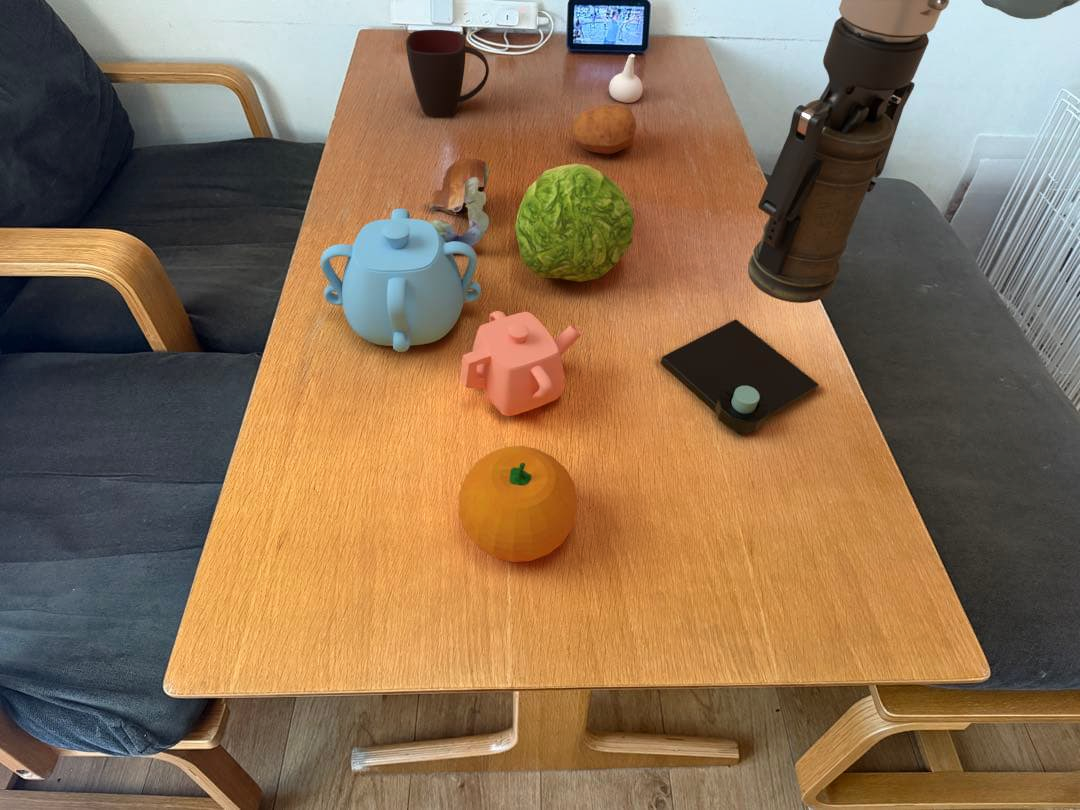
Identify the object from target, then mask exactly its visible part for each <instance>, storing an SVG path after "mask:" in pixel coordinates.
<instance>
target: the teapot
mask: <svg viewBox="0 0 1080 810" xmlns="http://www.w3.org/2000/svg"><path fill="white" fill-rule="evenodd" d="M488 318H489V320H488V321H489V322H486V323H483V324H481V325H479V327H478V329H477V332H476V335H475V338H474V342H473V346H472V351H470V352H467V353H465V354H462V357H461V358H462V359H461V368H460V375H459V376H460V377H459V378H460V382H461V383H462V384H463V386H464V387H465V388H466V389H475V390H482V391H483V392H484V394H485V395H486V397H487V398H488V399H489V401H490V402H491V403H492V404H493V406H495V408H496V409H497V410H498V411H499V412H500V413H501V415H503V416H506V417H507V416H508V417H511V416H512V417H513V416H516V415H519V414H523V413H526V412H528V411H531V410H535V409H537V408H539V407H542V406H545V405H547V404H549V403H552V402H554V401H556V400H558V399H559V397H560V396H561V395H562V393H563V391H564V388H565V372H564V365H563V361H562V357H561V356H563V354H565V352H567V350H568V349H569V348H570V347H571V346H572V345H574V344H575V342H576V341H578V339H579V338H580V337H581V336H582V335H583V334H582V332H581V331H580V330H579V329H578V328H577V327H576V326H574V324H572V323H571V324H569V325H568V326H567V327H566V328H565V329H564V330H563V331H562V332H561V333H560V334H559V335H558V336H557V337H556V338H555V339H553V336H552V335H551V334H550V332H549V331H548V330H547V328H546V327H545V326H544V324H542V322H540V320H539V319H538V318H536V316H535V315H534V314H532V313H531V312H529V311H522V312H518V313H515V314H510V315H506V314H505V313H504V312H503V311H501V310H496V311H493V312H491V313H490V314H489V317H488Z"/></svg>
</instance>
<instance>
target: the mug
mask: <svg viewBox="0 0 1080 810" xmlns="http://www.w3.org/2000/svg"><path fill="white" fill-rule="evenodd" d="M405 47H406V55H407V61H408V62H407V63H408V68H409V72H410V75H411V79H412V82H413V87H414V90H415V94H416V96H417V99H418V102H419V105H420V107H421V110H422V113H424V115H425V116H426V117H429V118H437V119H439V118H440V119H442V118H452V117H454V115H455V114H457V110H458V107H459V103H464V102H467V101H469V100H471V99H472V98H473V97H475V96H476V95H477V94H478V93H480V91H481V90H482V89H483V88H484V87H485V85H486V83H487V81H488V78H489V74H490V66H489V63H488V60H487V58H486V56H485V55H484V54H483V53H482V52H481V51H479V50H478V49H476V48H474V47H471V46H467V45H466V39H465V37H464V36H463V34H461V32H458V31H454V30H448V29H422V30H420V29H419V30H415V31H413V32H411V33H410V34H409V35H408V37H407V38H406V40H405ZM466 54H471V55H473V56H476V57H477V58H478V59H480V60H481V61H482V63H483V64H484V67H485V74H484V77H483V79H482V80H481V82H480V83H479V84H477V86H476V87H475V88H473V90H471V91H469V92H468V93H466V94H464V95H462V94H461V93H462V89H463V83H464V74H465V67H466Z"/></svg>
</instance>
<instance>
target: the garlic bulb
mask: <svg viewBox="0 0 1080 810" xmlns="http://www.w3.org/2000/svg"><path fill="white" fill-rule="evenodd" d="M635 58H636V55H635V54H633V53H631V54H629V55H628V56H627V60H626V62H625V65H624V69H623V70H622V72H621V73H617V74H616V75H614V76H613V77H612V78H611V80H610V82H609V84H608V93H609V95H610V96H611V98H612V99H614V100H615V101H617V102H620V103H626V104H628V103H629V104H630V103H635V102H637V101H639V99H640V98H641V97H642V95H643V92H644V91H643V90H644V87H643V83H642V81H641V78H640V77H638V76H637V75H636V74H635Z"/></svg>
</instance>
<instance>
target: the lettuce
mask: <svg viewBox="0 0 1080 810" xmlns="http://www.w3.org/2000/svg"><path fill="white" fill-rule="evenodd" d="M635 219H636V217H635V212H634V210H633V207H632V205H631V203H630V202H629V200H628V198H627V197H626V195H625V193H624V192H623V190H622V188H621V186H620V184H618V183H617V182H616V181H614V180H613V179H611V178H610V177H609V176H608V175H606V174H605V173H604V172H602V171H601V170H600V171H599V170H597V169H595V168H594V167H592V166H591V165H587V164H581V163H571V164H565V165H559V166H556V167H553V168H550V169H546V170H545V171H544V172H543V173H542V174H540V176H539V177H538V178H537V179H536V180H535V181H534V182H533V183H532V184H531V185H530V186H529V187H528V188H527V189H526V191H525V193H524V196H523V197H522V199H521V202H520V205H519V207H518V211H517V215H516V221H515V224H514V228H515V230H514V231H515V236H516V240H517V246H518V250H519V254H520V258H521V261H522V263H523V264H524V265H525V266H526V267H528V268H529V270H531V271H532V272H533V273H534V274H535V275H536V276H537V277H539V278H540V279H562V280H567V281H573V282H577V283H581V282H586V281H591V280H596V279H600V278H602V277H603V276H604V275H606V274H607V273H608V272H610V270H611V269H613V268H614V267H615V266H616V265H617V264H618V262H619V261H620V260H621V258H622V257H623V255H624V254H625V252H626V251H627V250H628V248H629V247H630V246H631V245H632V243H633V237H634V227H635Z"/></svg>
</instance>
